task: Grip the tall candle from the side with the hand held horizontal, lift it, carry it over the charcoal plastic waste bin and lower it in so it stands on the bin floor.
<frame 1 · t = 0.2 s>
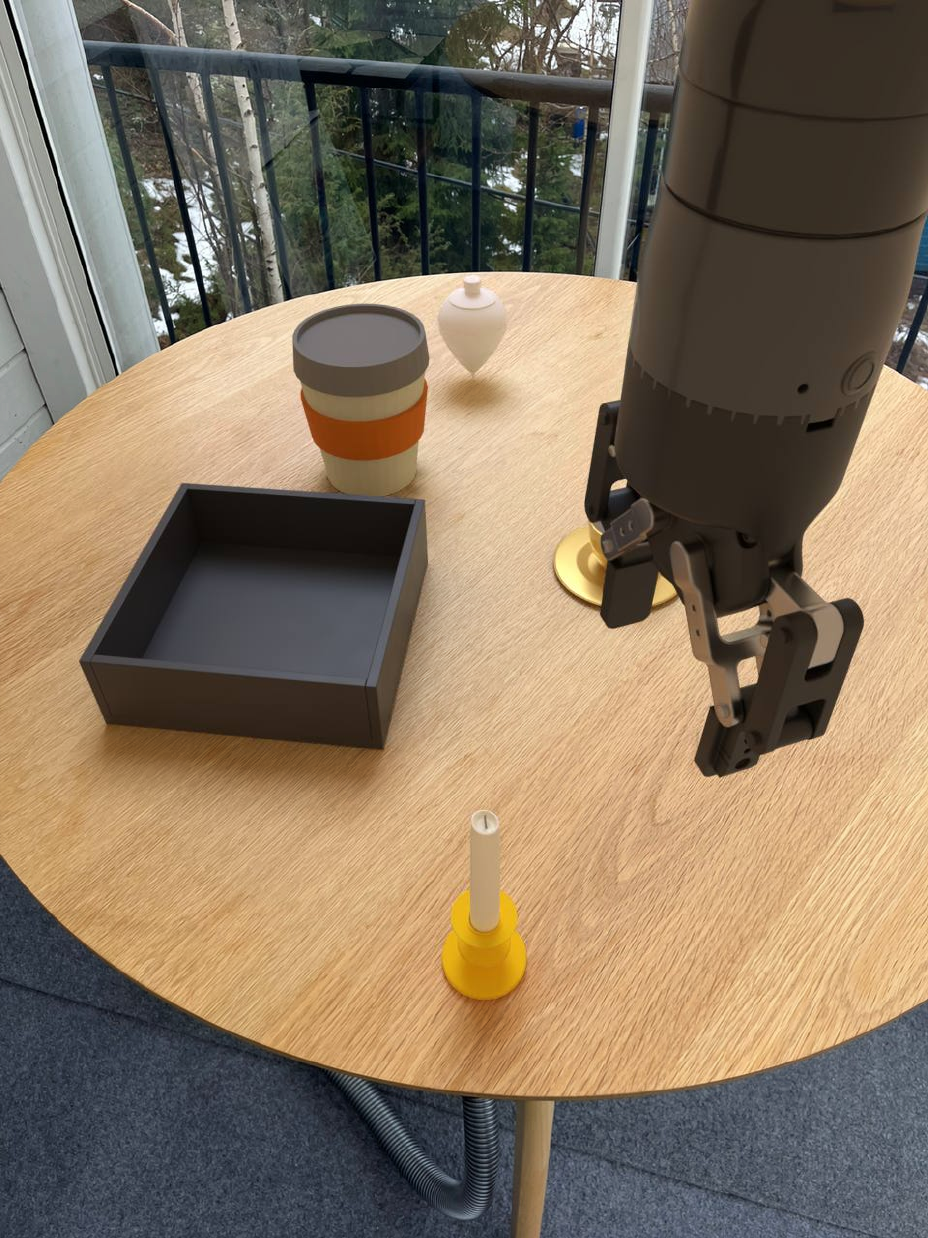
hand: (669, 688, 40), 25 cm above the table, tool pointing down, fingers open, 8 cm apart
reusable coffee cup: (372, 472, 95), on the table
bin: (280, 635, 78), on the table
cup: (619, 568, 84), on the table
candle: (484, 960, 58), on the table
spinning top: (472, 381, 108), on the table
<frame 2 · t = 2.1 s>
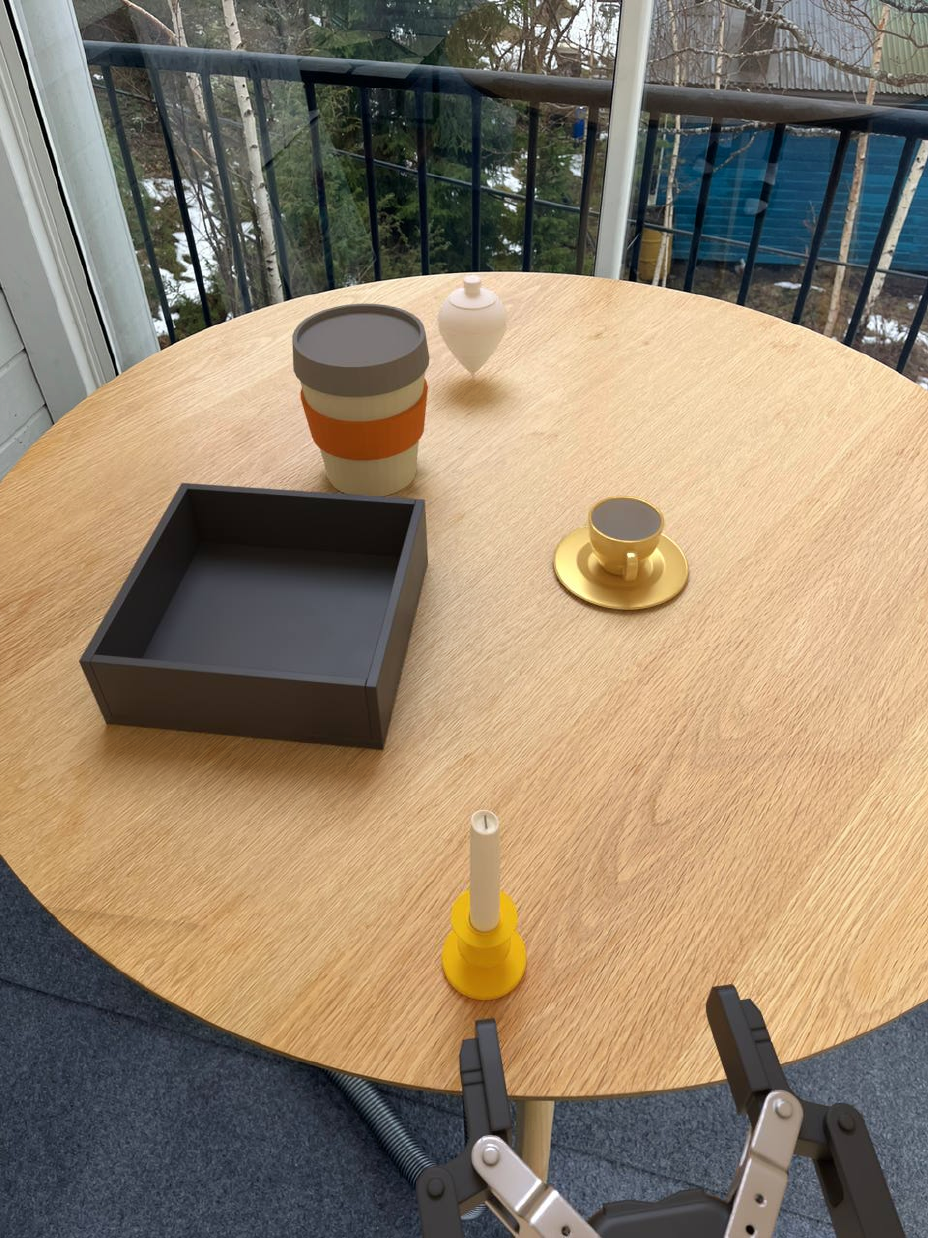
hand: (601, 1010, 33), 22 cm above the table, tool horizontal, fingers open, 8 cm apart
nothing on the table moved.
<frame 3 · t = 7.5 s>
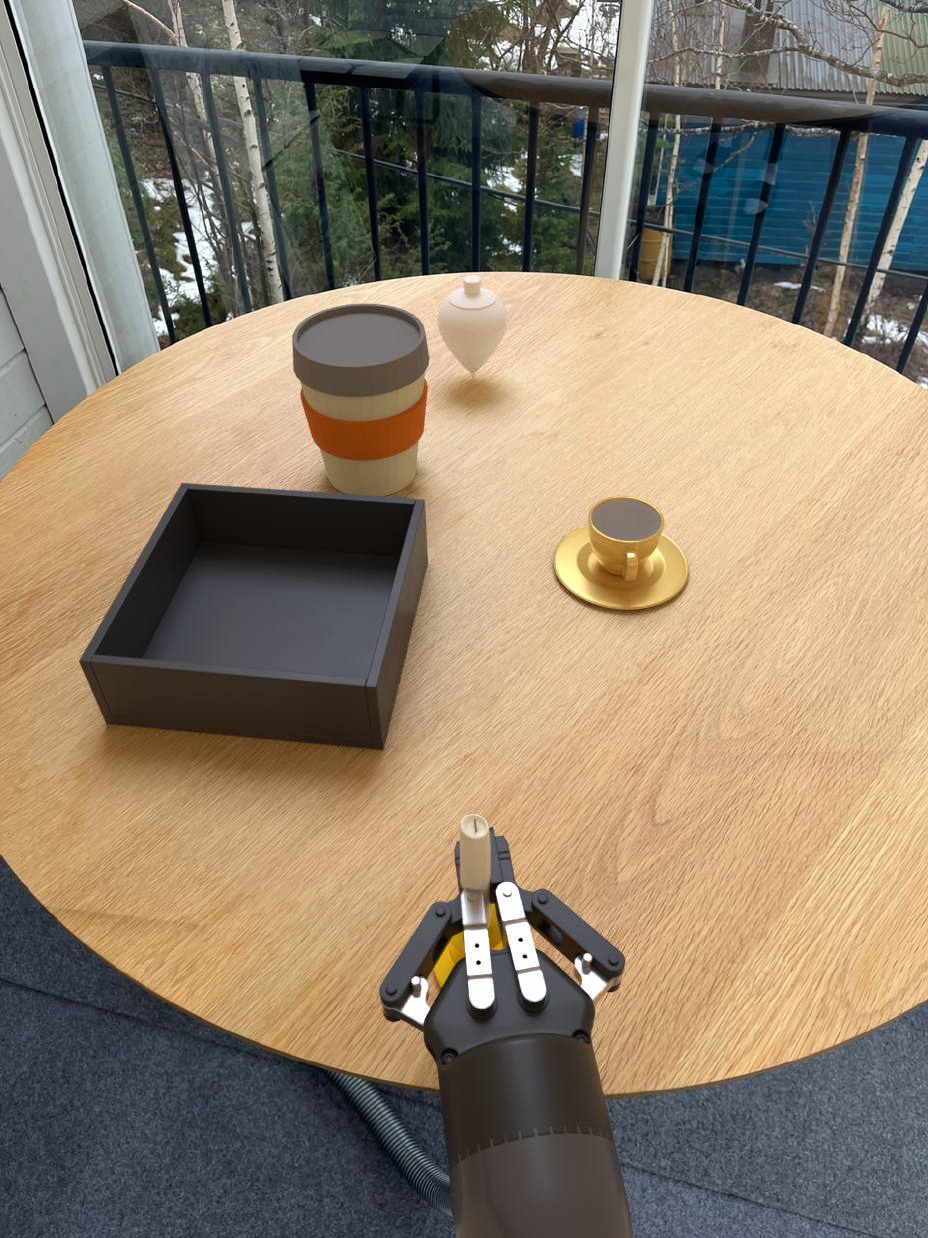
hand: (478, 836, 54), 9 cm above the table, tool horizontal, fingers closed
candle: (475, 965, 58), on the table, touching gripper
everything else where it was.
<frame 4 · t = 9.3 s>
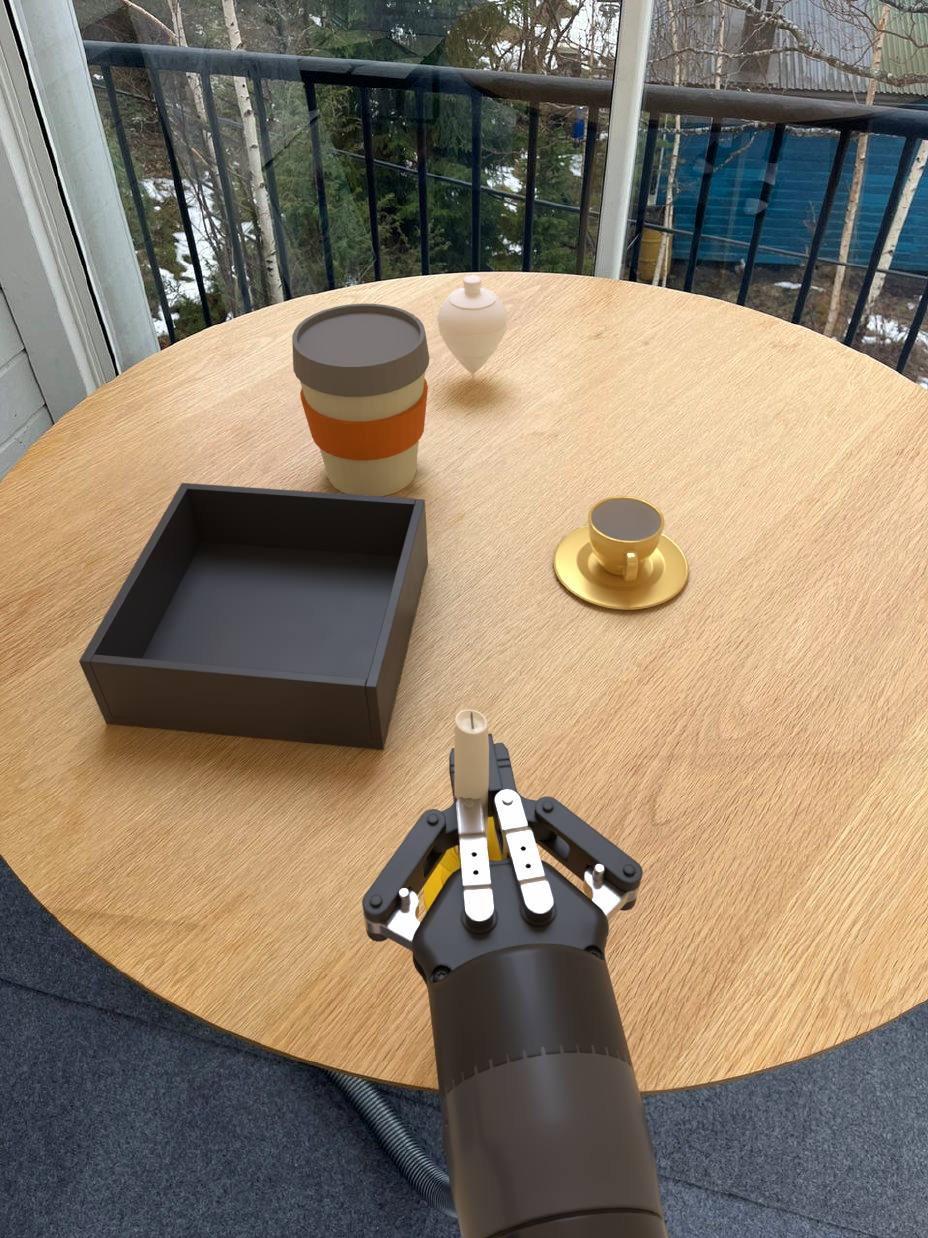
hand: (474, 745, 48), 17 cm above the table, tool horizontal, fingers closed
candle: (470, 899, 52), point 8 cm above the table, touching gripper
everything else where it was.
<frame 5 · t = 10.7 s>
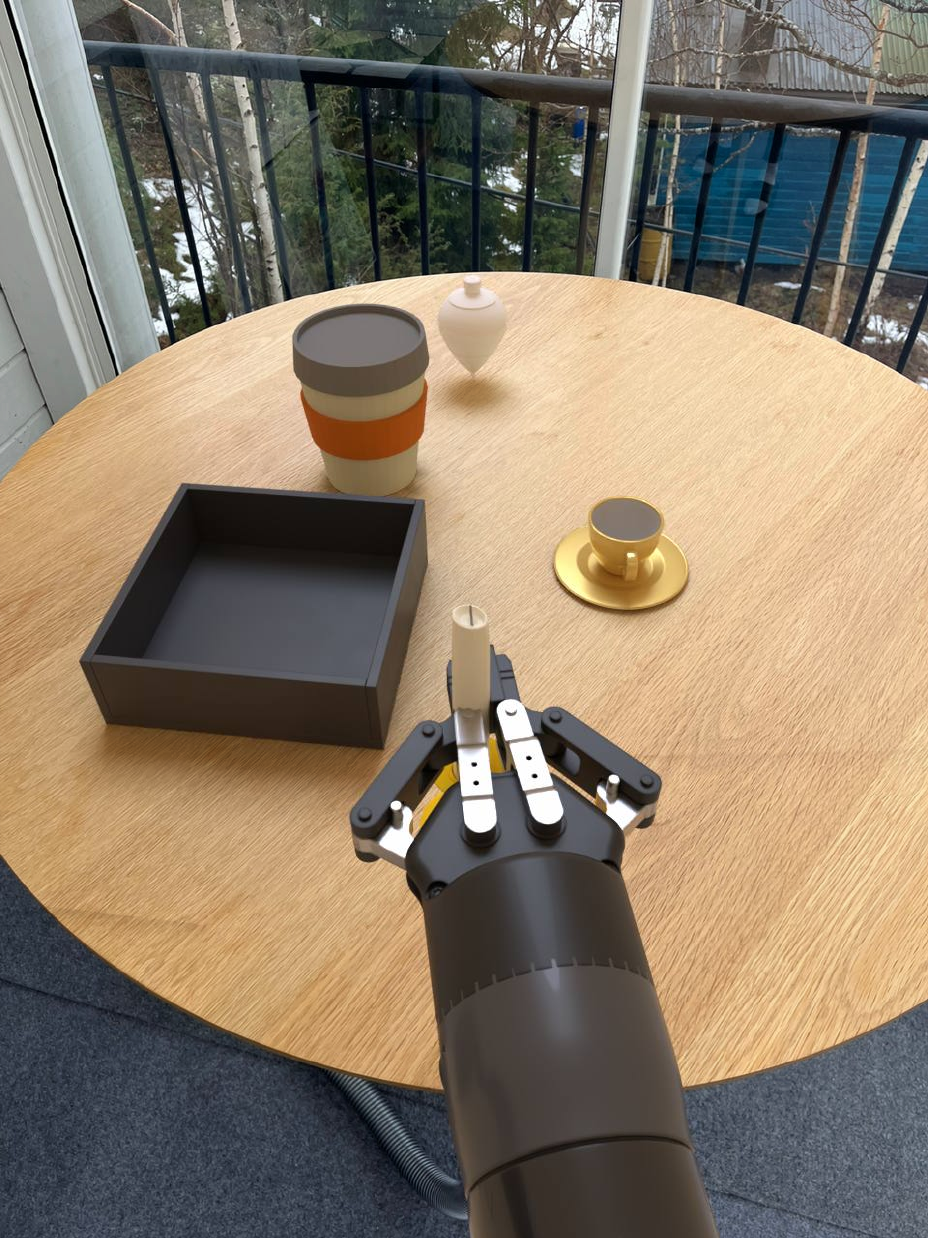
hand: (474, 658, 44), 24 cm above the table, tool horizontal, fingers closed
candle: (471, 833, 48), point 14 cm above the table, touching gripper
everything else where it was.
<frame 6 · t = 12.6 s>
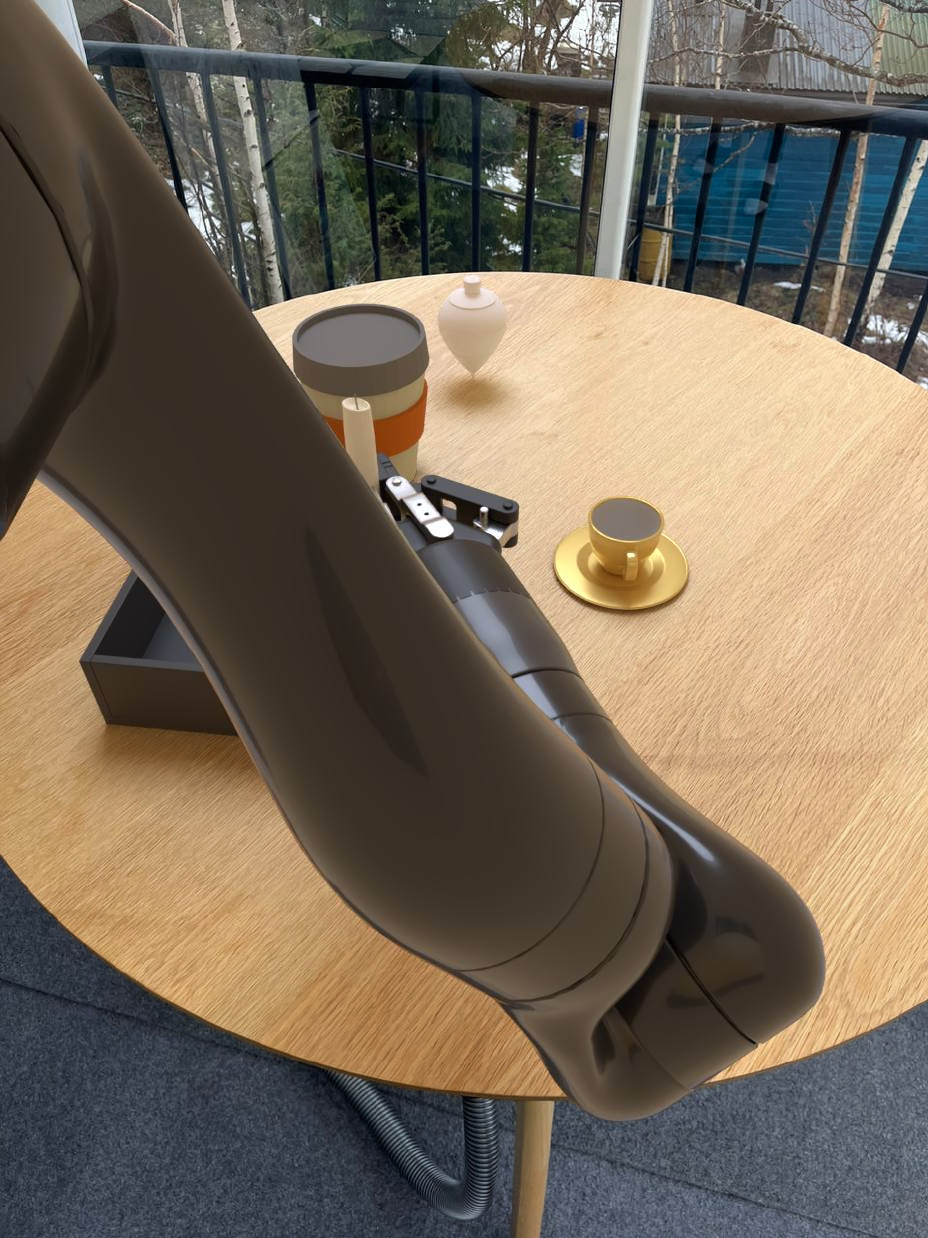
hand: (357, 462, 55), 24 cm above the table, tool horizontal, fingers closed
candle: (377, 615, 59), point 14 cm above the table, touching gripper
everything else where it was.
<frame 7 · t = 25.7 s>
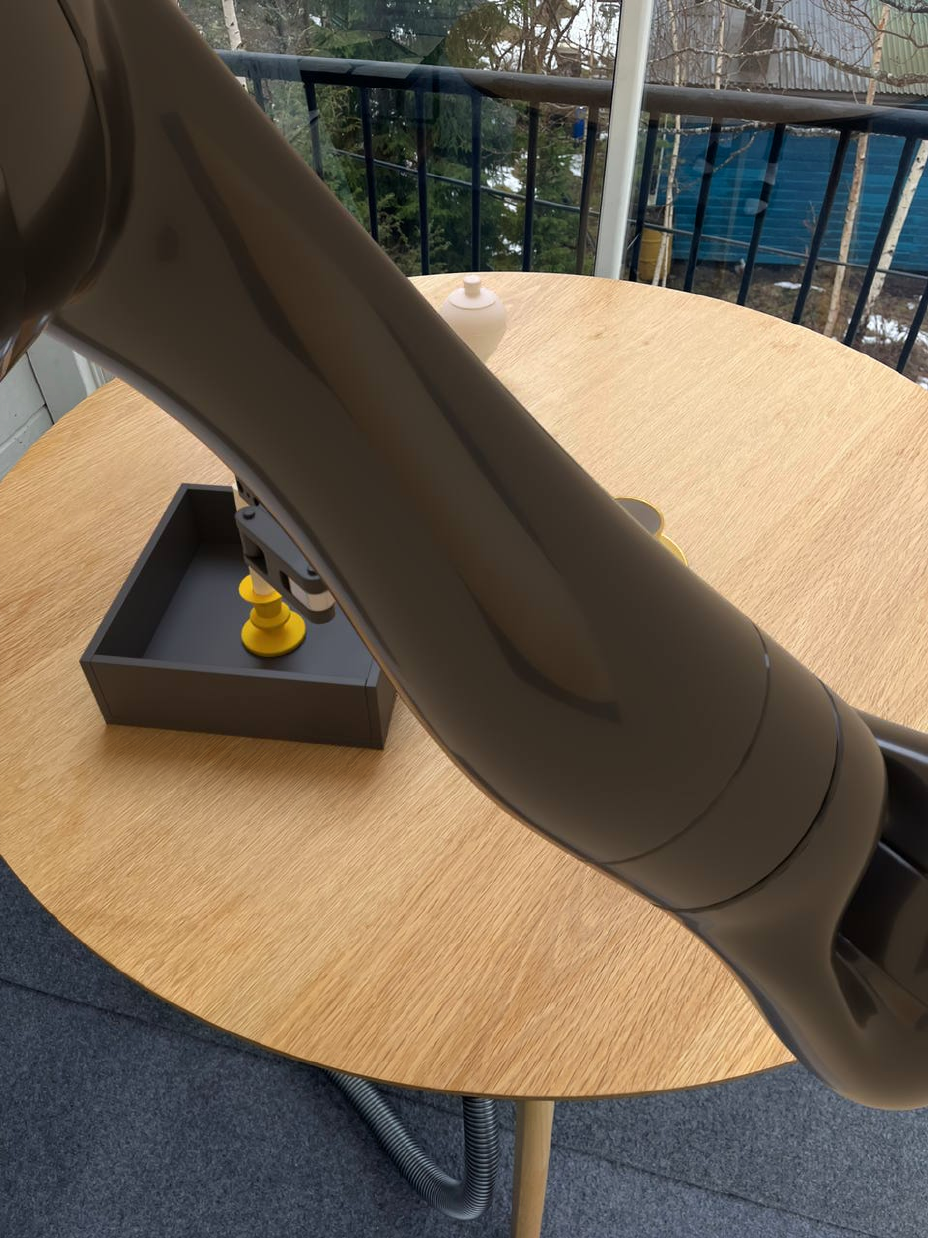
hand: (322, 433, 46), 30 cm above the table, tool horizontal, fingers open, 8 cm apart
candle: (274, 636, 77), point 1 cm above the table, touching bin
everything else where it was.
at the end: candle inside the target area in the bin (0.9 cm from its centre), point 0.8 cm above the bin's base; the gripper is holding nothing; candle tilted 0° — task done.
